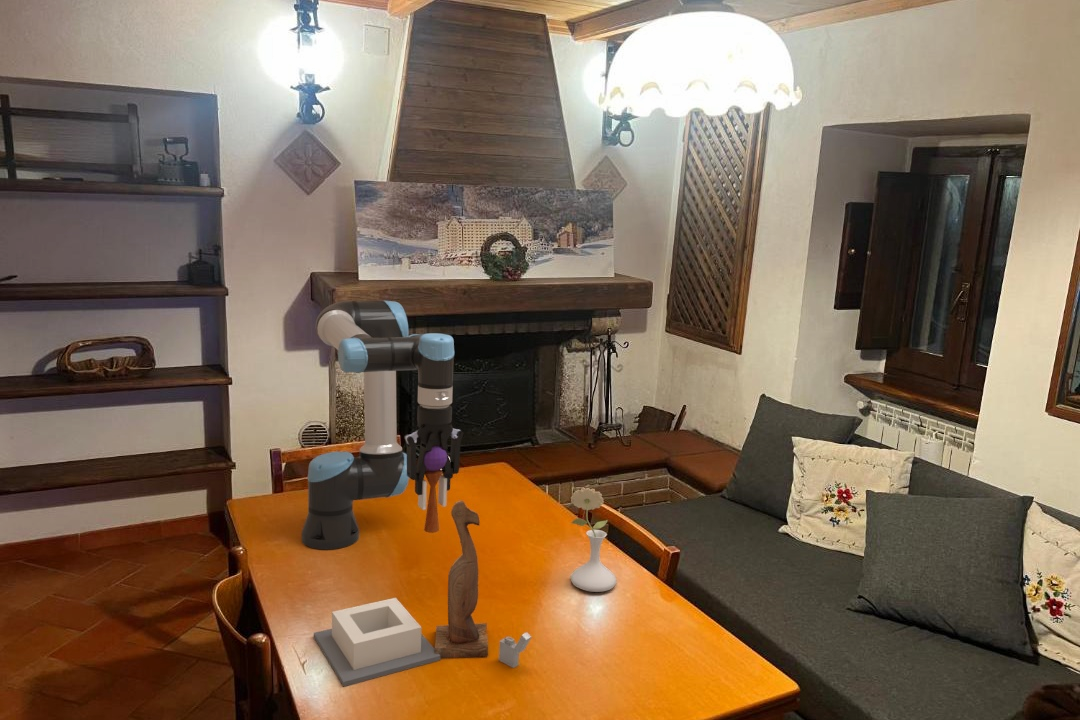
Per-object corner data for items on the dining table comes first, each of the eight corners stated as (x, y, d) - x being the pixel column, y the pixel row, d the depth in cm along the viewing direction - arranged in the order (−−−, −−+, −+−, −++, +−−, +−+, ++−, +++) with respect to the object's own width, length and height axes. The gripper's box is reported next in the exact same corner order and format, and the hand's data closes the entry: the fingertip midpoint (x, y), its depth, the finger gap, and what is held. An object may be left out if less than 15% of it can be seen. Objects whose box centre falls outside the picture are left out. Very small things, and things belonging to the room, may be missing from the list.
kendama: (426, 537, 173) (428, 449, 170) (413, 527, 178) (415, 442, 174) (449, 531, 177) (452, 446, 173) (437, 522, 182) (439, 439, 178)
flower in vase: (622, 582, 198) (629, 487, 194) (606, 600, 188) (613, 501, 184) (574, 570, 204) (580, 478, 199) (556, 588, 194) (562, 491, 189)
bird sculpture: (491, 659, 162) (498, 511, 156) (434, 661, 160) (438, 512, 154) (486, 630, 173) (491, 492, 167) (432, 633, 171) (436, 492, 165)
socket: (313, 637, 166) (313, 608, 165) (402, 616, 176) (403, 589, 175) (343, 686, 149) (343, 655, 148) (440, 660, 160) (441, 630, 159)
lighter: (498, 660, 161) (499, 624, 159) (504, 656, 162) (505, 621, 161) (524, 674, 156) (526, 637, 155) (530, 670, 158) (532, 633, 156)
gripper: (404, 412, 165) (402, 517, 169) (477, 405, 174) (474, 505, 178) (391, 404, 171) (389, 506, 175) (462, 397, 180) (459, 495, 184)
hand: (432, 505), depth 176 cm, fingers closed on kendama, 4 cm apart
